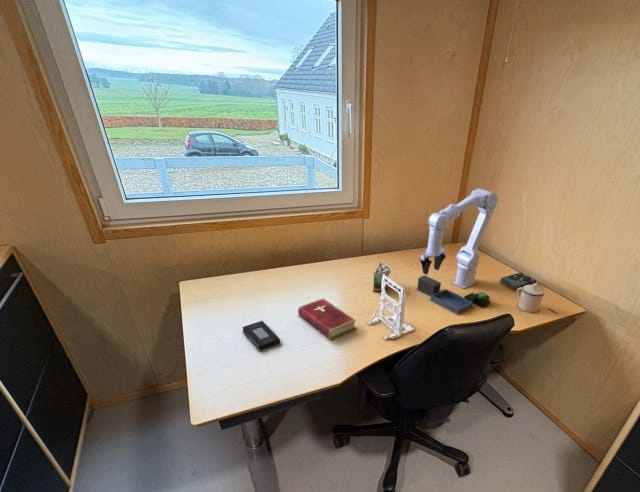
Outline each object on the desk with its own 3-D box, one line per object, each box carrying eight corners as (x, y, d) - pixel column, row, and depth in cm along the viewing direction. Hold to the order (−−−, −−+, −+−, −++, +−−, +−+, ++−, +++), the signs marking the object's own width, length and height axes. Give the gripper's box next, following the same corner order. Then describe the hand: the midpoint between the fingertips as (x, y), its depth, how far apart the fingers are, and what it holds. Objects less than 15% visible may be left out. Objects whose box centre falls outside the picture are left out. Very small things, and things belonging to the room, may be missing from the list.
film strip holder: (417, 331, 139) (423, 284, 128) (387, 341, 132) (391, 293, 121) (395, 313, 148) (399, 269, 137) (366, 322, 141) (368, 276, 131)
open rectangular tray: (444, 293, 166) (445, 289, 164) (472, 307, 157) (473, 302, 155) (430, 300, 160) (431, 295, 158) (457, 314, 151) (458, 309, 149)
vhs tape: (259, 351, 122) (259, 346, 121) (243, 331, 131) (242, 326, 130) (280, 343, 127) (279, 338, 126) (262, 325, 136) (262, 320, 134)
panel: (471, 295, 166) (473, 288, 164) (490, 304, 160) (492, 297, 158) (463, 299, 162) (464, 292, 160) (482, 308, 156) (484, 301, 154)
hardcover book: (329, 340, 130) (329, 330, 128) (298, 315, 142) (297, 306, 140) (355, 328, 137) (355, 319, 135) (323, 306, 150) (323, 297, 147)
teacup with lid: (542, 309, 159) (551, 286, 152) (529, 314, 154) (537, 290, 148) (521, 298, 167) (527, 275, 161) (507, 302, 162) (514, 279, 156)
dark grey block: (423, 286, 170) (424, 275, 167) (439, 294, 165) (441, 283, 161) (416, 289, 168) (418, 277, 164) (432, 297, 162) (434, 285, 159)
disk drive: (518, 277, 187) (499, 282, 179) (520, 272, 185) (500, 277, 178) (535, 285, 180) (516, 291, 172) (537, 280, 178) (517, 286, 171)
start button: (480, 294, 161) (481, 291, 160) (487, 297, 158) (488, 294, 157) (476, 296, 158) (476, 293, 157) (483, 300, 156) (483, 296, 155)
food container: (386, 295, 161) (387, 275, 156) (372, 293, 162) (373, 273, 157) (391, 283, 171) (392, 263, 166) (378, 281, 172) (379, 262, 167)
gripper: (438, 236, 160) (434, 264, 167) (416, 242, 151) (413, 272, 159) (451, 241, 156) (446, 269, 163) (429, 248, 147) (425, 278, 154)
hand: (430, 271), depth 161 cm, fingers open, 7 cm apart
